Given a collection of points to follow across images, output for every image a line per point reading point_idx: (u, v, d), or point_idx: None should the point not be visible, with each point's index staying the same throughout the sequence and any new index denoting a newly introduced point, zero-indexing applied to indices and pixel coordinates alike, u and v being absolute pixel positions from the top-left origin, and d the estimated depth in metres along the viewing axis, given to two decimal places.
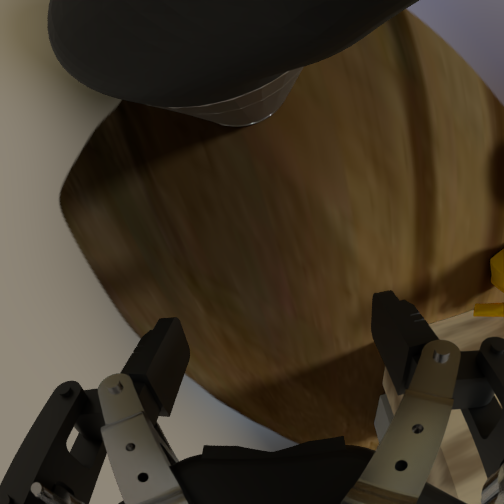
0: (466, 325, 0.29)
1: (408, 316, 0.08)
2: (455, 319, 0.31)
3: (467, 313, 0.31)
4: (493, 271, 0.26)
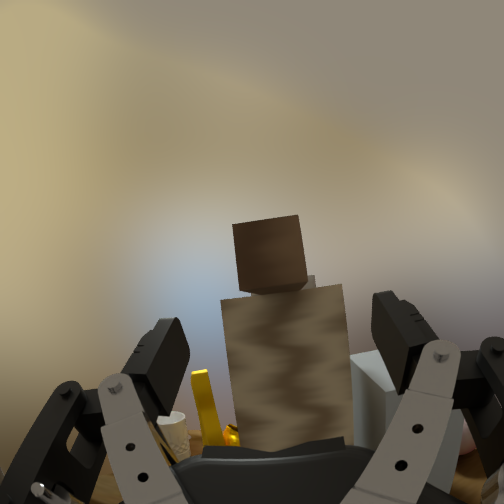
0: None
1: (408, 316, 0.08)
2: None
3: None
4: None
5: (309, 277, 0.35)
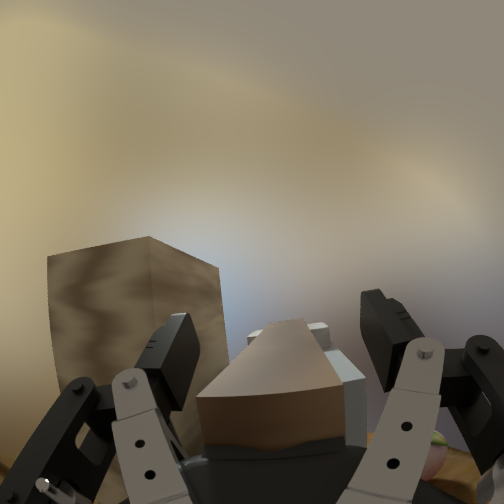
0: None
1: (394, 314, 0.09)
2: None
3: None
4: None
5: (322, 330, 0.26)
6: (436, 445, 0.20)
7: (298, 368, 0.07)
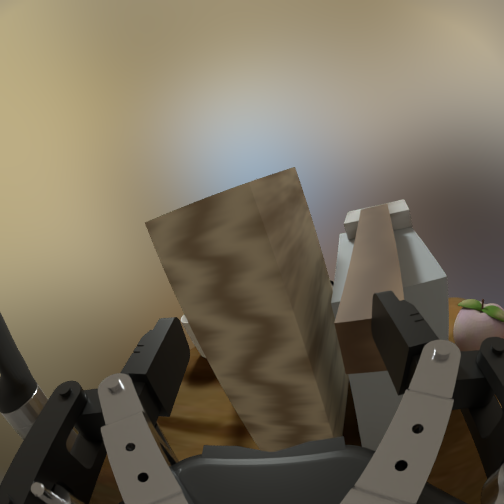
0: None
1: (408, 316, 0.08)
2: None
3: None
4: None
5: (404, 212, 0.28)
6: (500, 321, 0.25)
7: None
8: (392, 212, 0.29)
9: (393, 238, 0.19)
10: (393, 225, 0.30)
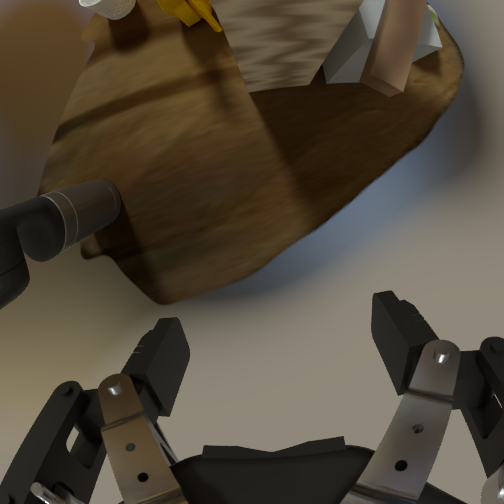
0: None
1: (408, 316, 0.08)
2: None
3: None
4: (192, 23, 0.35)
5: None
6: None
7: (399, 67, 0.17)
8: None
9: (422, 13, 0.15)
10: None
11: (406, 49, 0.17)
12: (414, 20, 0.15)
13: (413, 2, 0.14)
